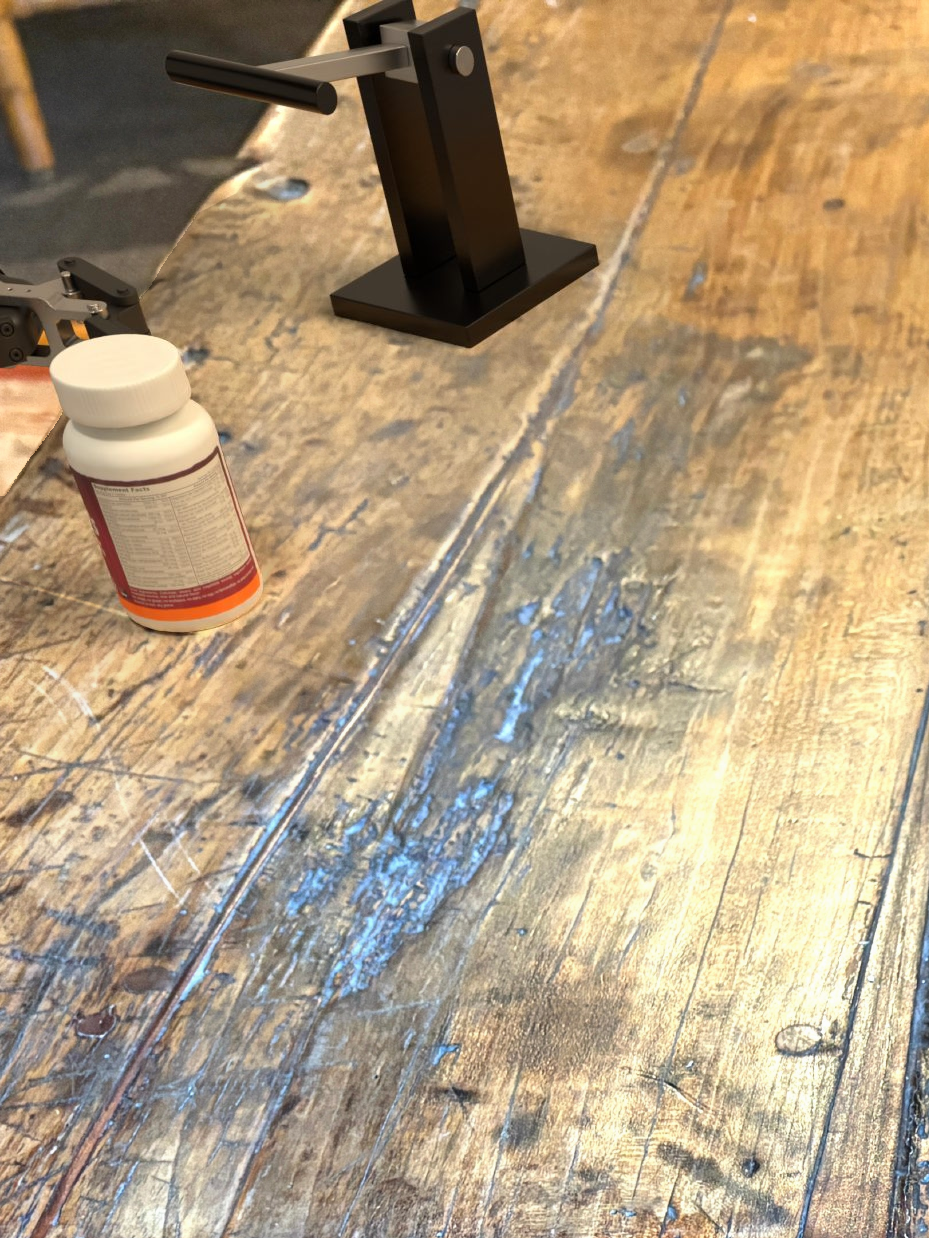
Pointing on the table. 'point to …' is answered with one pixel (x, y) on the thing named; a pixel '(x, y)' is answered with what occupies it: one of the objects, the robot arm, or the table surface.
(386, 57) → the flush lever
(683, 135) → the table surface
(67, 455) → the pill bottle
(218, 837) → the table surface
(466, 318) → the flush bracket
